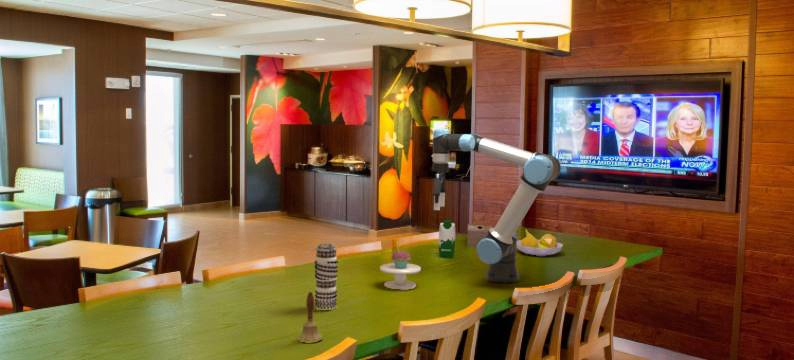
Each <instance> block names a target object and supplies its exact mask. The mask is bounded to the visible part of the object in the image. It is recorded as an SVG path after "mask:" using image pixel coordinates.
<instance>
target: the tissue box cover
mask: <svg viewBox="0 0 794 360" xmlns="http://www.w3.org/2000/svg"><path fill="white" fill-rule="evenodd" d="M490 228H493V227H492V224H483V223H482V224H481V223H467V237H466V238H467V239H466V241H467V243H466V245H467V246H466V247H467V248H477V245H478V243H479V242H480V241H481V240H482V239H484V238H485V236H486V235H487V233H488V231H489V230H490Z"/></svg>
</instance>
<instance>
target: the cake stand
mask: <svg viewBox="0 0 794 360" xmlns="http://www.w3.org/2000/svg"><path fill="white" fill-rule="evenodd" d="M379 269H380V271H381V272H383V273H385V274H386V273H387V274H391V275H394V280H388V281H385V282H384V284H383V286H385V287H387V288H386V289H388V288H392V289H401V290H400V291H409V289H411V290H414V289H416V288H417V284H416V282H413V281H411V280H407V275H411V274H413V275H414V274H417V273H419V272H421V270H422V267H421V266H420V265H418V264H413V263H409V262H408V263H407V266H406V268H403V269H400V268H396V267H395V264H394V262H391V263H390V262H389V263H384V264H382V265H380V266H379ZM385 287H384V288H385ZM415 287H416V288H415ZM413 288H414V289H413ZM392 289H391V290H392Z"/></svg>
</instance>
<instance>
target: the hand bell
mask: <svg viewBox="0 0 794 360" xmlns="http://www.w3.org/2000/svg"><path fill="white" fill-rule="evenodd" d="M305 302H306V309H307V321H306V322H304V324H303V327H302V332H301V334H300V337H299V336H298V338H300V339H301V340H304V341H316V340H319V339H321V338H323V336H322V335H321V334H320V333H319V329H318V324H317V323H316V322H315V321H314V316H313V313H314V308H315V297H314V294H313V292H312V291H309V292H308V294H307V297H306V301H305Z"/></svg>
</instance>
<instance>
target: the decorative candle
mask: <svg viewBox="0 0 794 360" xmlns="http://www.w3.org/2000/svg"><path fill="white" fill-rule="evenodd" d="M337 249H338V248H337V247H336V246H335V245H334V244H333V243H321V244H319V245H318V246H317V247H316V248H315V250H316V255H315V260H314V266H313V267H314V273H315V274H314V279H315V282H316V283H315V284H316V286H315V291H314V296H315V297H314V307H317V308H318V309H333V308H335V307H337V305H338V303H337V301H338V299H337V297H338V295H337V293H338V291H337V281H336V280H338V275H337V274H336V273H337V272H339V271H338V267H339V266H338V265H337V264H338V263H339V261H338V258H337Z"/></svg>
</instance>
